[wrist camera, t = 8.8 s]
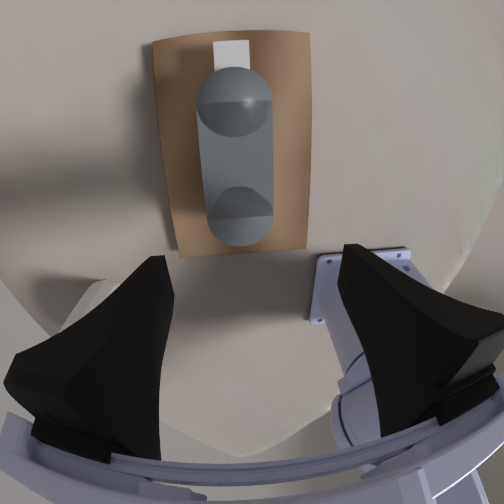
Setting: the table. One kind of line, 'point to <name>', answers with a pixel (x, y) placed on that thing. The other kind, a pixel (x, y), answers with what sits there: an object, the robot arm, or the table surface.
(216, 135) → the connector plug
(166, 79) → the walnut board
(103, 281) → the white cup
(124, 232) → the table surface
